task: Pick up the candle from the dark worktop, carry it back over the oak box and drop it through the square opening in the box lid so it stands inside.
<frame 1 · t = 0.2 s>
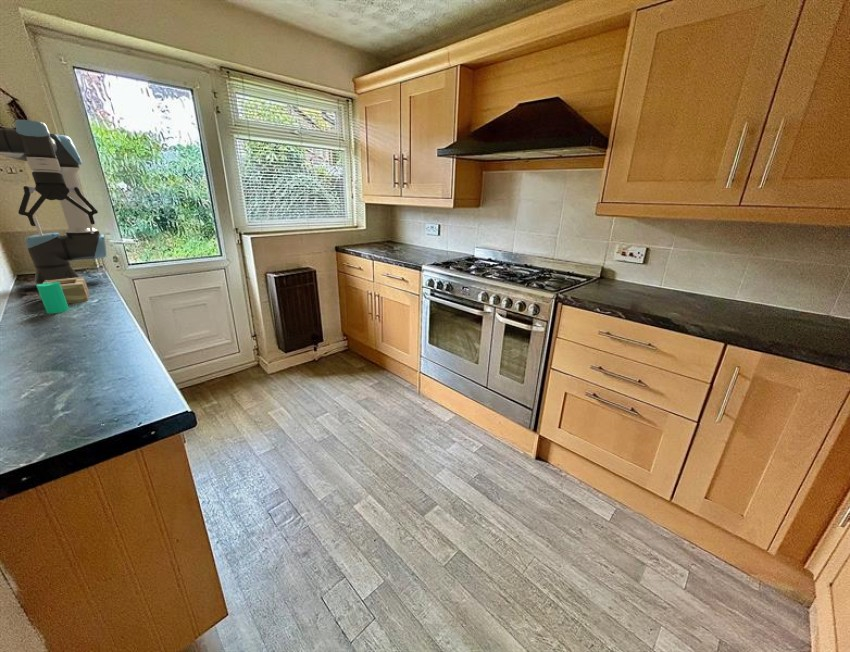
hand: (67, 234, 128), 27 cm above the countertop, fingers open, 13 cm apart
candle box: (69, 298, 145), on the countertop
candle: (58, 311, 131), on the countertop
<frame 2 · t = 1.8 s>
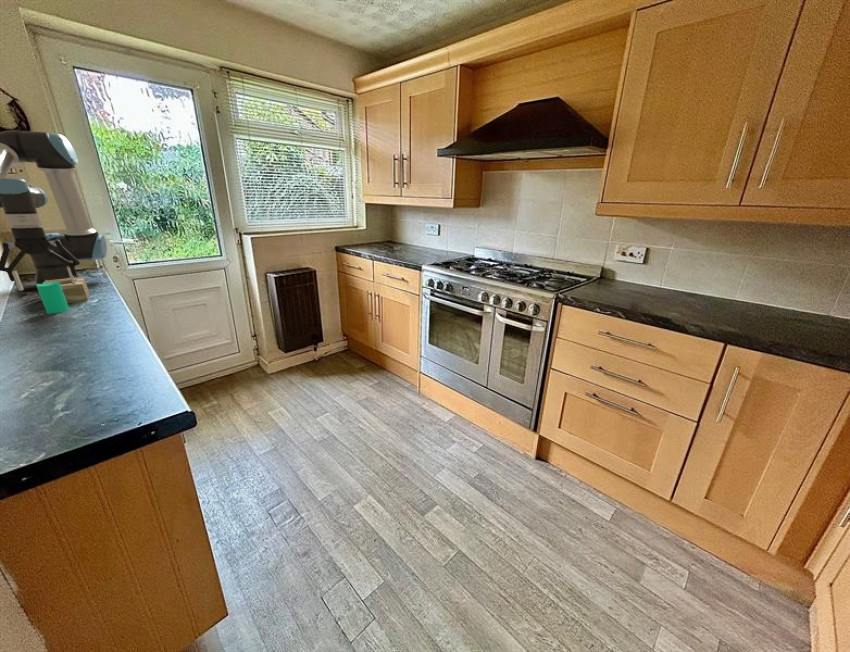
hand: (48, 287, 127), 9 cm above the countertop, fingers open, 13 cm apart
nothing on the countertop moved.
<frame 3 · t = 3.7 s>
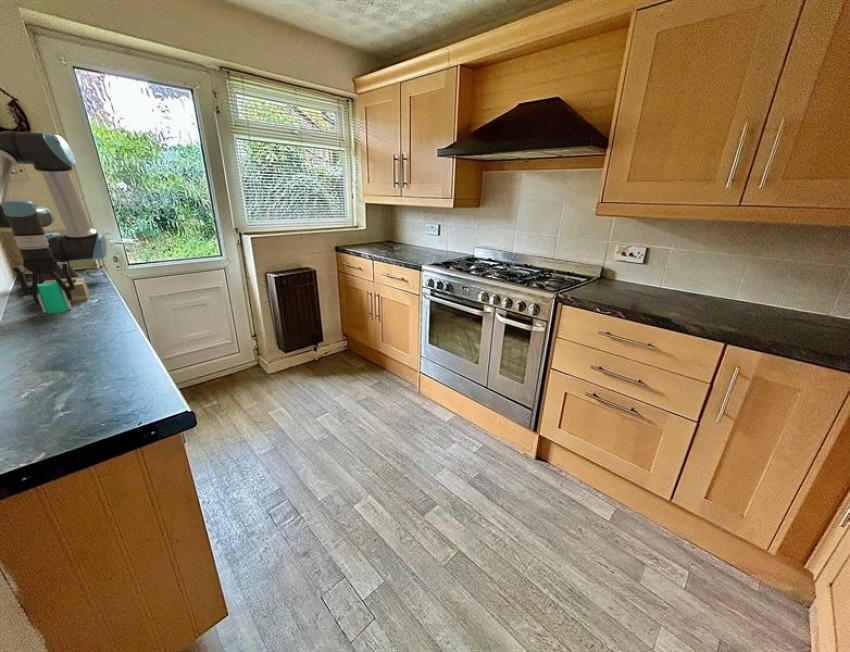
hand: (57, 309, 131), 0 cm above the countertop, fingers closed on candle, 6 cm apart
candle: (58, 311, 131), on the countertop, touching gripper
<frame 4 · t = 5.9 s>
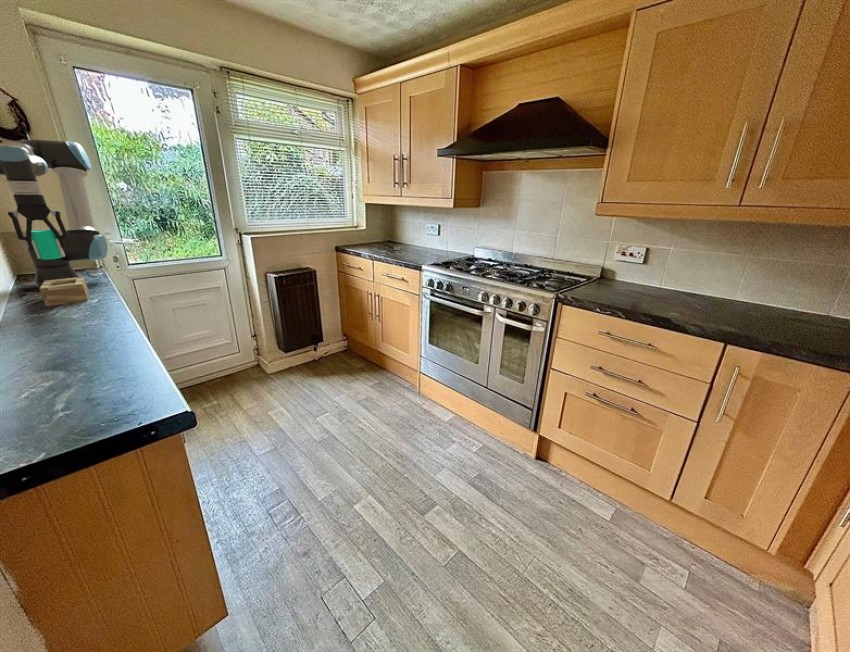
hand: (51, 256, 136), 18 cm above the countertop, fingers closed on candle, 6 cm apart
candle: (52, 258, 136), point 17 cm above the countertop, touching gripper
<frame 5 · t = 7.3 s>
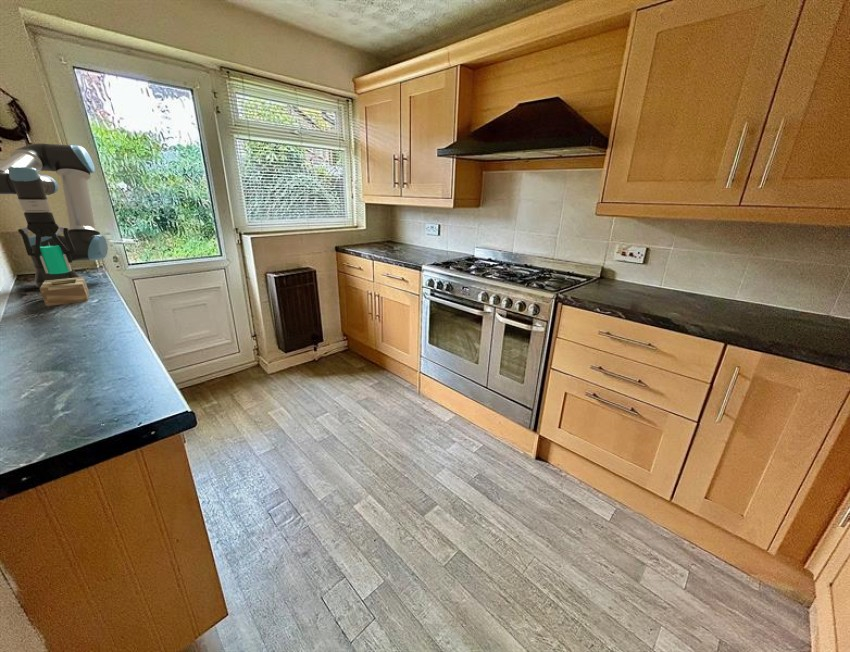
hand: (59, 271, 141), 11 cm above the countertop, fingers closed on candle, 6 cm apart
candle: (59, 273, 141), point 11 cm above the countertop, touching gripper
when the fingers open (9 cm above the countertop, at t = 8.4 s): candle drops 7 cm, resting on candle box.
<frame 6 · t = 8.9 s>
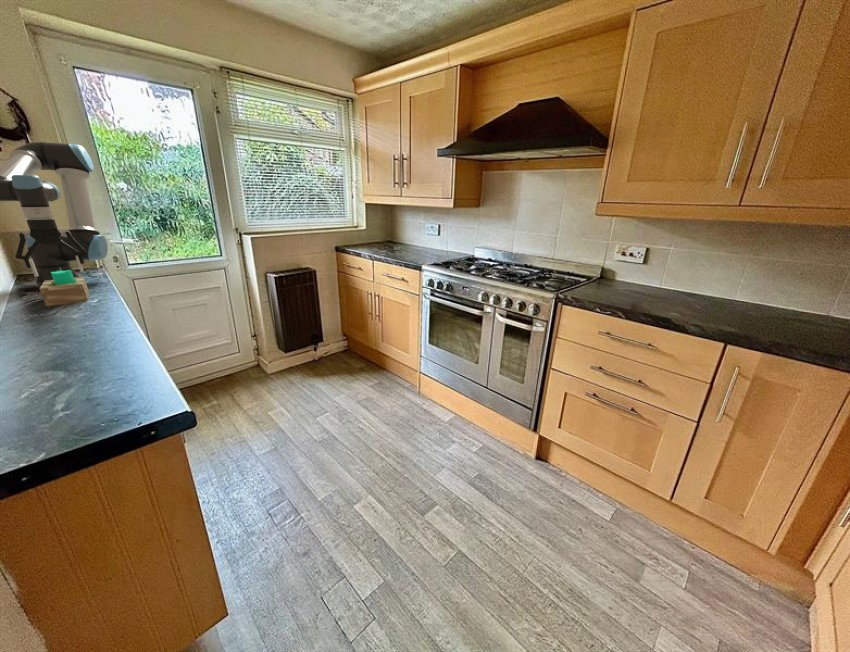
hand: (60, 273, 141), 11 cm above the countertop, fingers open, 12 cm apart
candle: (70, 296, 145), point 1 cm above the countertop, touching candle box
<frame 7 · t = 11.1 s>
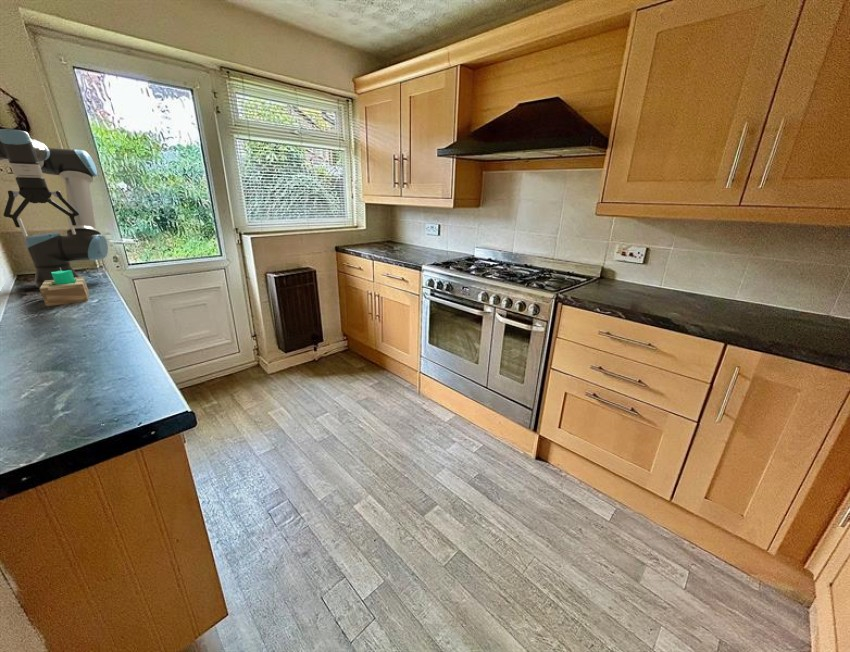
hand: (50, 235, 138), 26 cm above the countertop, fingers open, 13 cm apart
nothing on the countertop moved.
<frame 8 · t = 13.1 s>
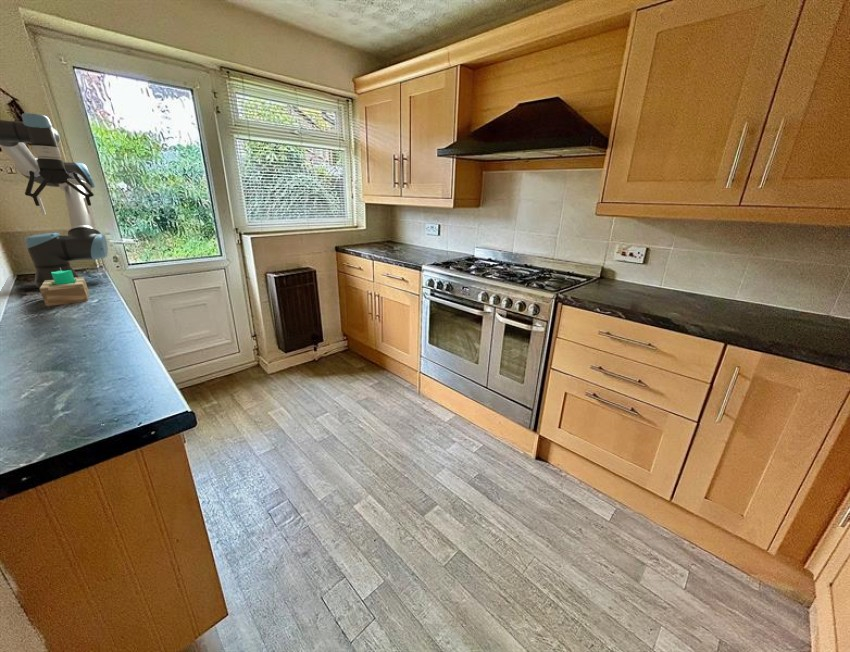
hand: (67, 214, 147), 33 cm above the countertop, fingers open, 13 cm apart
nothing on the countertop moved.
at the end: candle inside the target area on the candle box (0.6 cm from its centre), point 0.8 cm above the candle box's base; candle tilted 0°; the gripper is holding nothing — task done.
